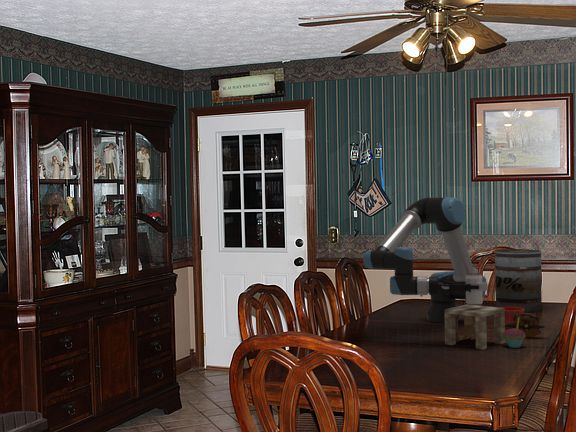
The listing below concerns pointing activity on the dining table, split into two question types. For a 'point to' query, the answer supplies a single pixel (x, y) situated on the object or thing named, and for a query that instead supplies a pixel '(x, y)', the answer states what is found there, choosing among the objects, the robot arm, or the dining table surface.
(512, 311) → the flower pot
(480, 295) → the can
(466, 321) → the gate leg
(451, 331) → the stool
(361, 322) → the dining table surface
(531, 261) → the barrel
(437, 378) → the dining table surface
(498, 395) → the dining table surface
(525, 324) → the wooden carving
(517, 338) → the cupcake
